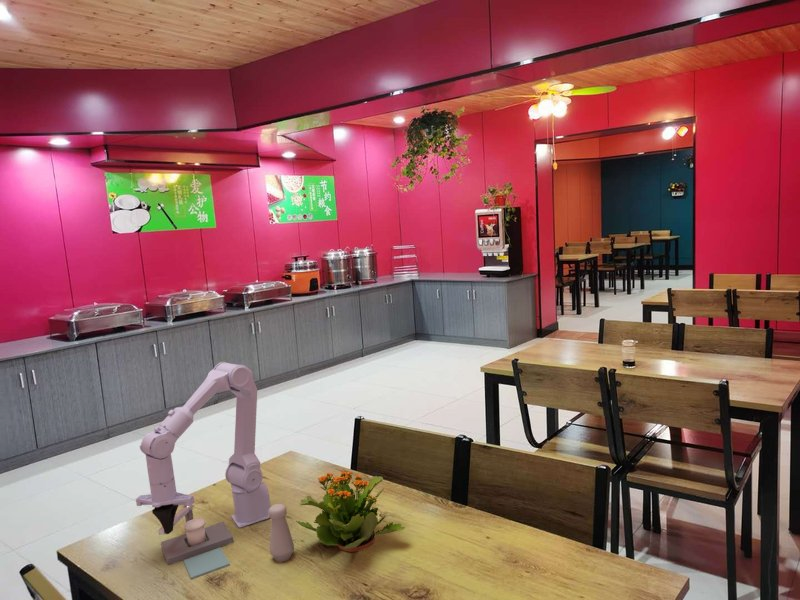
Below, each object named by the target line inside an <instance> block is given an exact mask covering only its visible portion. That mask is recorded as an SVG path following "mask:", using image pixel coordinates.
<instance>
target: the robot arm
mask: <svg viewBox="0 0 800 600" xmlns="http://www.w3.org/2000/svg"><path fill="white" fill-rule="evenodd" d="M228 391H230V393H232V394H234V395H235V396H236V402H235V406H236V407H235V424H234V425H235V426H234V428H235V429H234V430H235V431H234V445H233V446H234V449H233V454H232V455H231V456H230V457H229V458H228V465H227V468H226V469H225V474H224V476H225V480H226V481H227V482H228V483H229V484H230V486H231V493H232V494H231V495H232V501H233V502H232V503H233V509H234V514H231V519H232V520H233V522H234V523H235V525H236V527H238V529H241V528H244V527H247V526H249V525H252V524H255V523H258V522H262V521H264V520H267V519H271V518H270V517H269V513H268V511H269V508H270V507H271V506H272V505H271V498H270V492H269V489H268V485H267V484H266V482H263V478H264V477H263V475H264V474H263V472H262V469H261V461H260V460H259V458H258V456H257V454H256V453H255V451H256V434H257V431H256V430H257V408H258V388H257V385H256V382H255V379H254V372H253V371H252V370H251V369H250V368H249V367H248V366H246V365H244V364H237V363H236V364H235V363H229V362H227V361H220V362H218V364H216V365H215V366H214V367H213V369H211V370H210V371H209V372H208V374H207V376H206V378H205V380H204V381H203V382H202V383H201V384H200V386H199V387H198V388H197V389H196V390H195V391H194V393H192V395H191V396H190V397H189V399H188V400H187V401H186V402H185V404H183V406H179V407H174V409H170V410H169V411H168V412H167V414H168V415H167V416H166V417H165V418H164V419H163V420H162V421H161V423H159V425H156V426H155V427H154V428H153V430H152V431H151V432H148V433H146V434H145V435H144V437H143V438H142V439H141V443H140V445H139V449H140V451H141V453H143V454H144V455H145V460H146V468H147V474H148V482H149V489H150V494H141V495H139V496H138V497H137V498H135V503H136V507H141V506H151V507H152V508H153V509H152V514H153V515H154V516H155V517H156V519H157V520H158V521H159V522H160V524H161V527H162V526H163V528H164V531H165V533H166V534H165V535H170V534H171V533H172V532H173V531H174V526H173V524H174V518H175V514H176V512H178V511H177V510H178V508H179V506H184V505H186V506H191V505H192V506H193V505H194V503H195V497H194V495H193V494H186V493H182V492H177V486H176V480H175V473H174V465H173V459H172V453H173V452H174V450H175V444H176V442H177V441H178V440H179V439H180V437H181V436H182V435H183V434H184V433H185V432H186V431H187V430H188V428H189V427H191V425H192V424H193V423H194V415H195V414H196V413H197V412H198V411H199V410H200V409H202V407H203V406H205V404H206V403H207V402H209V400H211V398H213V397H214V396H215V394H217V393H223V392H228Z"/></svg>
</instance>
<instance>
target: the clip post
mask: <svg viewBox="0 0 800 600" xmlns="http://www.w3.org/2000/svg"><path fill="white" fill-rule="evenodd" d="M184 519H185V523H186V522H187V521H189V520H192V519H194V513H193V510H191V511H189V512H188V513H187V514H186V515H185V516H184Z"/></svg>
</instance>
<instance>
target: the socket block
mask: <svg viewBox="0 0 800 600" xmlns="http://www.w3.org/2000/svg"><path fill="white" fill-rule="evenodd" d="M204 528H205V536H206V542H203V543H200V544H197V545H194V546H191V547H188V540H187V533H184V534H181V535H178V536H175V537H172V538H168V539H165V540H163V541H160V546H161V549H162V552H163V556H164V558H165V561H166V564H167V565H168V566H169V565H173V564H175V563H177V562H182V561H184V560H186V559H189V558H191V557H194V556H197V555H200V554H203V553H206V552H209V551H212V550H214V549H217V548H220V547H221V548H222V547H224V546H227V545H229V544H233V543H234V536H233V534H232V533H231V532H230V530H229V528H228V527H227V525H226V523H225V522H224V521H222V522H218V523H215V524H212V525H209V526H204Z"/></svg>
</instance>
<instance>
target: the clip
mask: <svg viewBox="0 0 800 600" xmlns="http://www.w3.org/2000/svg"><path fill="white" fill-rule="evenodd" d="M191 510H192V511H193V510H194V506H193V504H192V505H191V506H186V505H182V508H180V510H178V511H177V513H176V514H175V518H174V524H173V527H175V526H176V524H177V523H178V522H180V520H182V519H183V518H185V515H186V514H187V513H188V512H189V511H191ZM158 535H163V536H164V535H167V534H166V533H165V531H164V528H163V526H162V525H161V527H160V528H159V529H158Z"/></svg>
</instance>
